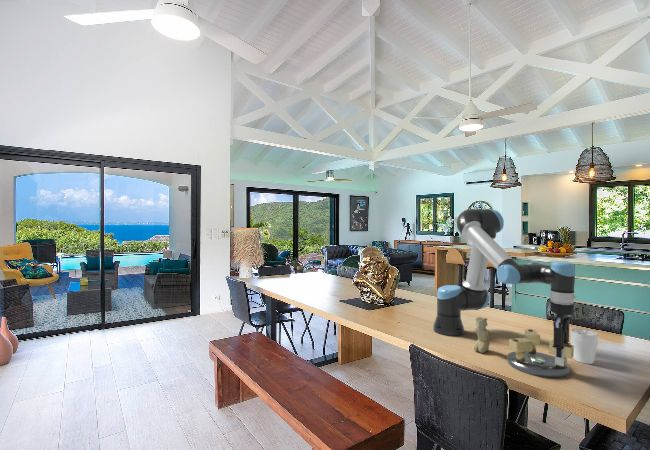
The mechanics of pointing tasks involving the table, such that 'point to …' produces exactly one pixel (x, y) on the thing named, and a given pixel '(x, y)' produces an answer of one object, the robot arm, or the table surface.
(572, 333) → the cup
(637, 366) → the table surface
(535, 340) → the beige blocky piece
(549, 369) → the plate
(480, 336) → the sculpture
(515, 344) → the knob left
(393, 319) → the table surface
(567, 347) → the knob right
